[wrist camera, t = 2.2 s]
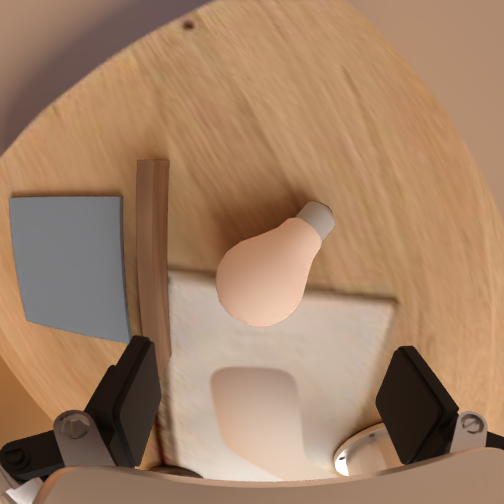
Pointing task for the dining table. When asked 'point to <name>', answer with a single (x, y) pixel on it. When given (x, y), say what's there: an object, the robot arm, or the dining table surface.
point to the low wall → (153, 255)
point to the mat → (72, 263)
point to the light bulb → (272, 268)
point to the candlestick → (175, 471)
